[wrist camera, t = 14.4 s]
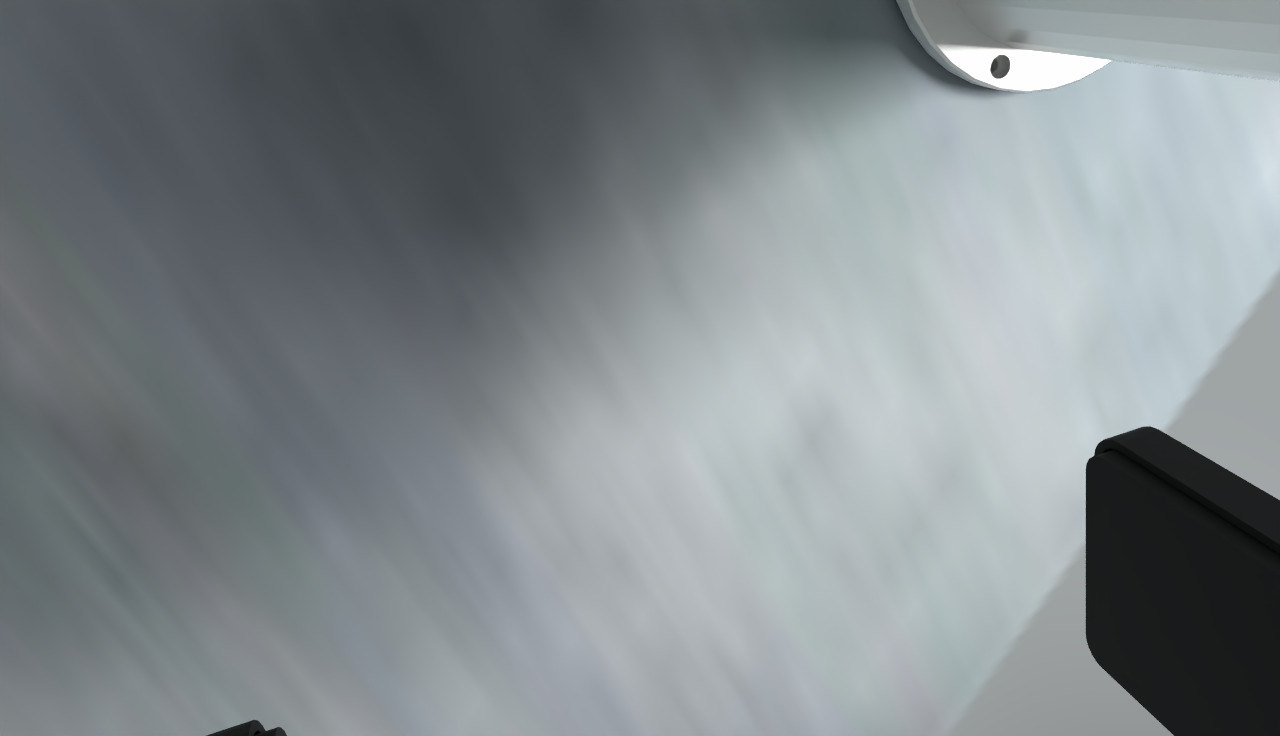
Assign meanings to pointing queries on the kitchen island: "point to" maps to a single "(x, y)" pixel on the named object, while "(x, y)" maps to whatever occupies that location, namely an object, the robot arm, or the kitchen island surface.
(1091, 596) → the robot arm
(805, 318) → the kitchen island surface
